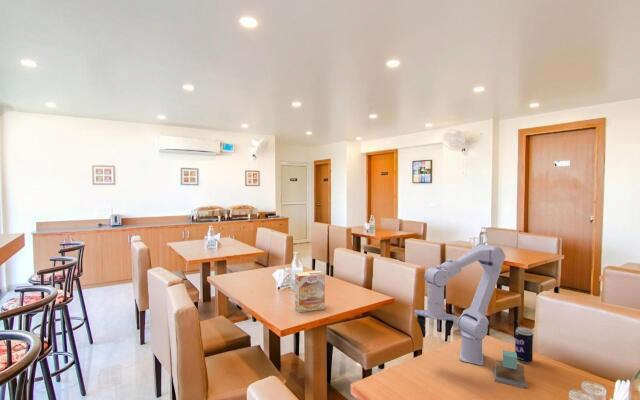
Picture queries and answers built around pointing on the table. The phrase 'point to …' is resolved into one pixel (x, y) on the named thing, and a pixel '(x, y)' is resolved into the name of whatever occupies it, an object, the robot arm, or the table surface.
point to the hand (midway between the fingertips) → (434, 338)
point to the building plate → (509, 380)
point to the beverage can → (524, 344)
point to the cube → (509, 359)
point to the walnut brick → (509, 372)
